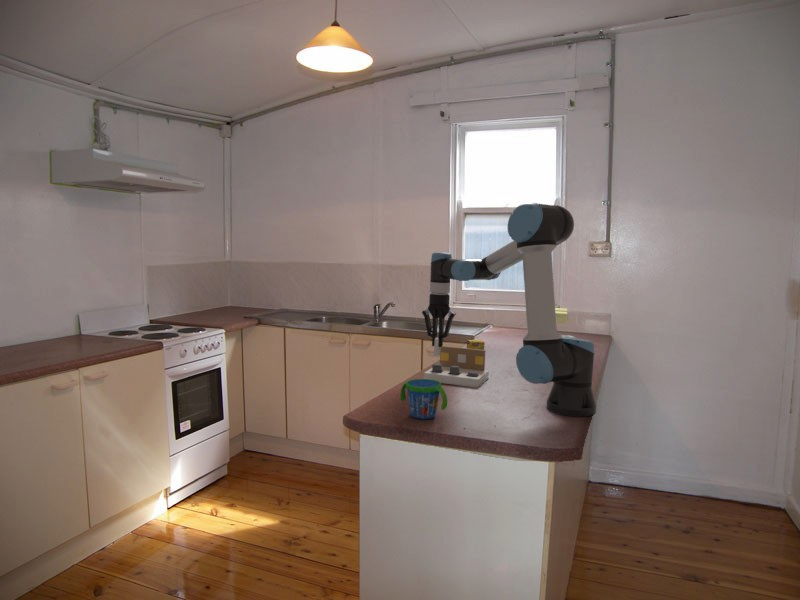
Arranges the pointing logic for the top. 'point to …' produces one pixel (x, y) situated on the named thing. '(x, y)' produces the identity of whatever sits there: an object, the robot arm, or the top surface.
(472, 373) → the button right
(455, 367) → the button middle
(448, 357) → the button panel
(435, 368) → the button left
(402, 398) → the snack cup
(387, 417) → the top surface
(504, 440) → the top surface
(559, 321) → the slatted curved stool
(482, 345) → the supplement box
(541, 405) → the top surface
